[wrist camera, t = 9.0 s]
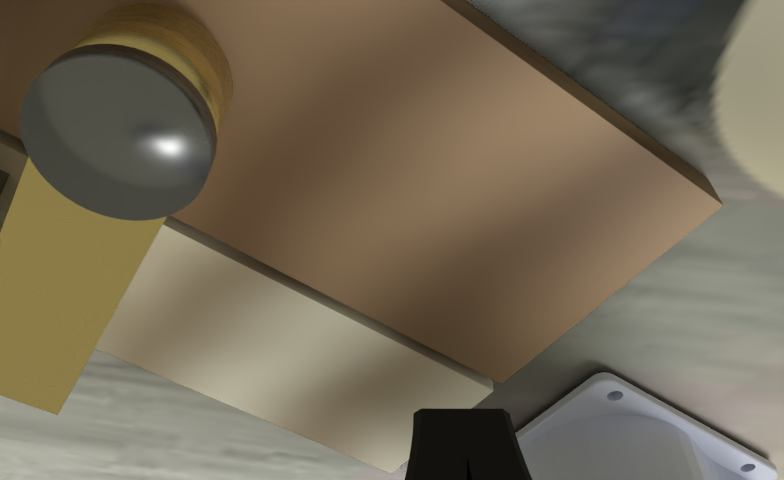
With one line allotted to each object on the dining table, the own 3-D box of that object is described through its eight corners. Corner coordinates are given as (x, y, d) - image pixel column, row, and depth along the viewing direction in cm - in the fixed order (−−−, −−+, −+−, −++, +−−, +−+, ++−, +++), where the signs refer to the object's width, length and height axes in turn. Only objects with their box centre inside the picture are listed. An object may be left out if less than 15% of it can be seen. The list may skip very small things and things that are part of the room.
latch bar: (105, -35, 15) (50, 22, 12) (264, 54, 16) (239, 122, 14) (-25, 311, 21) (-79, 392, 19) (95, 357, 22) (59, 439, 20)
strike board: (708, 179, 20) (758, 265, 17) (391, 445, 28) (389, 535, 25) (66, -293, 13) (-24, -281, 11) (-110, 225, 21) (-189, 311, 18)
